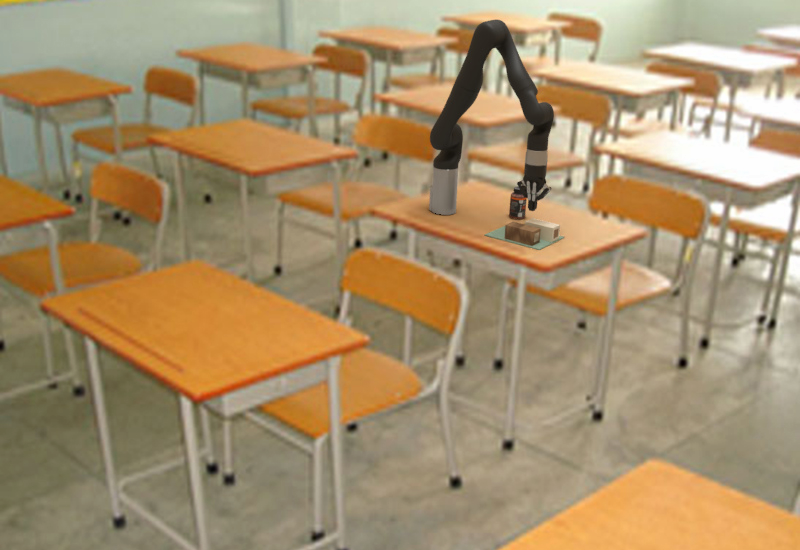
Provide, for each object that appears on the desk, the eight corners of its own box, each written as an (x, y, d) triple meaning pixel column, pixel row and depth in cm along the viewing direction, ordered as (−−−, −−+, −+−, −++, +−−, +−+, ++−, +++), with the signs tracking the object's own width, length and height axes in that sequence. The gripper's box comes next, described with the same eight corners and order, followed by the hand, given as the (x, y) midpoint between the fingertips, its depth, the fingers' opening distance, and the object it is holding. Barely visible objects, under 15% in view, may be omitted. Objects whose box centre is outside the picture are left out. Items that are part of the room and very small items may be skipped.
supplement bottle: (524, 220, 359) (526, 190, 354) (508, 219, 360) (510, 189, 355) (525, 215, 364) (528, 186, 360) (509, 214, 365) (511, 185, 361)
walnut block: (505, 224, 336) (533, 232, 330) (513, 221, 340) (540, 228, 333) (504, 238, 338) (532, 246, 332) (512, 235, 342) (539, 242, 335)
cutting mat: (484, 235, 342) (484, 234, 341) (510, 224, 354) (510, 223, 354) (539, 250, 329) (539, 249, 329) (564, 237, 342) (564, 236, 341)
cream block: (525, 221, 340) (553, 228, 334) (532, 218, 344) (560, 224, 338) (524, 235, 342) (551, 242, 336) (531, 231, 346) (559, 238, 340)
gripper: (513, 160, 335) (510, 208, 341) (547, 167, 327) (543, 216, 334) (525, 156, 340) (521, 204, 347) (558, 163, 333) (554, 212, 339)
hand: (532, 210), depth 340 cm, fingers closed
